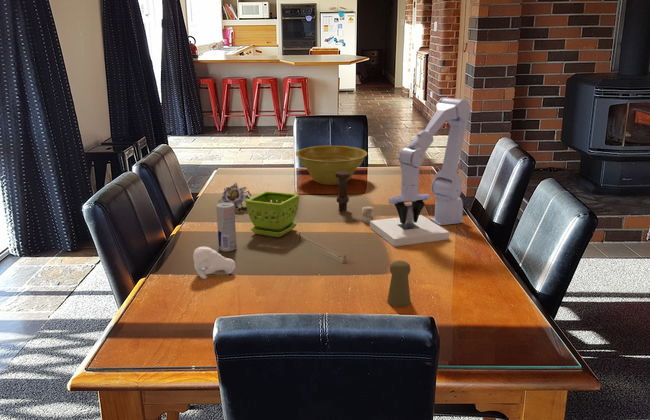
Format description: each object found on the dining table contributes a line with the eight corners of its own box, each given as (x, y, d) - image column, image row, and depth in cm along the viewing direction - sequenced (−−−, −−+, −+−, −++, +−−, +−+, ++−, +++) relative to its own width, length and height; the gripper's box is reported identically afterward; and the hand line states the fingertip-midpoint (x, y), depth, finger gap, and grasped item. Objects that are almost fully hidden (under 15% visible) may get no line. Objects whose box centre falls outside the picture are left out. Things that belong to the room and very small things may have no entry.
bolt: (348, 213, 228) (348, 174, 223) (334, 212, 229) (334, 174, 224) (350, 208, 233) (350, 171, 229) (337, 208, 234) (337, 170, 230)
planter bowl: (368, 190, 258) (369, 160, 254) (294, 190, 259) (293, 160, 255) (365, 172, 289) (365, 145, 285) (298, 173, 290) (297, 145, 286)
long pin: (411, 228, 208) (411, 203, 205) (416, 232, 204) (416, 206, 202) (400, 229, 207) (400, 204, 204) (405, 233, 203) (405, 207, 201)
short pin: (370, 219, 221) (370, 206, 219) (374, 222, 217) (374, 209, 216) (360, 220, 220) (360, 207, 218) (364, 223, 216) (364, 210, 215)
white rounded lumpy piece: (193, 243, 172) (235, 244, 175) (193, 271, 175) (234, 271, 177) (192, 251, 166) (236, 252, 169) (192, 279, 169) (235, 280, 171)
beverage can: (239, 247, 194) (237, 202, 189) (231, 253, 189) (229, 207, 184) (224, 245, 196) (221, 201, 191) (215, 251, 191) (212, 206, 186)
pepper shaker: (385, 297, 158) (386, 258, 154) (408, 296, 158) (409, 257, 155) (389, 307, 152) (390, 267, 149) (413, 306, 152) (414, 266, 149)
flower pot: (301, 228, 211) (300, 194, 207) (282, 241, 199) (280, 204, 195) (266, 223, 217) (265, 189, 213) (246, 235, 205) (244, 199, 201)
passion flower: (233, 224, 233) (213, 201, 229) (237, 210, 243) (217, 189, 238) (256, 209, 230) (237, 186, 226) (259, 196, 240) (240, 174, 235)
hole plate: (420, 221, 218) (421, 214, 217) (448, 239, 200) (449, 232, 199) (369, 227, 212) (370, 220, 211) (394, 246, 193) (394, 239, 193)
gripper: (423, 179, 206) (422, 216, 210) (385, 182, 202) (384, 221, 206) (433, 184, 200) (432, 222, 204) (394, 188, 195) (393, 227, 199)
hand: (408, 222), depth 204 cm, fingers open, 4 cm apart
